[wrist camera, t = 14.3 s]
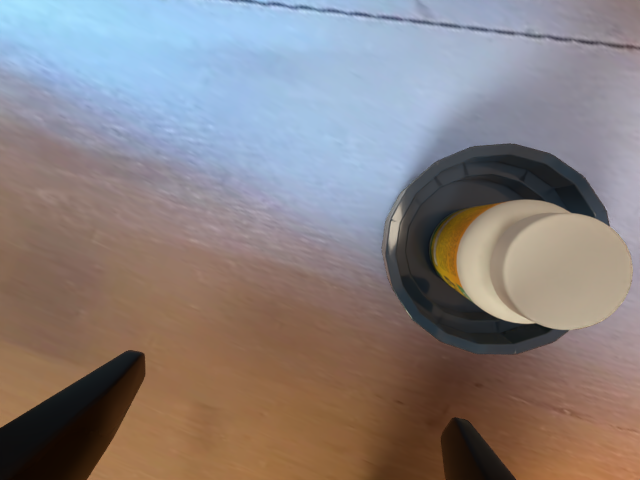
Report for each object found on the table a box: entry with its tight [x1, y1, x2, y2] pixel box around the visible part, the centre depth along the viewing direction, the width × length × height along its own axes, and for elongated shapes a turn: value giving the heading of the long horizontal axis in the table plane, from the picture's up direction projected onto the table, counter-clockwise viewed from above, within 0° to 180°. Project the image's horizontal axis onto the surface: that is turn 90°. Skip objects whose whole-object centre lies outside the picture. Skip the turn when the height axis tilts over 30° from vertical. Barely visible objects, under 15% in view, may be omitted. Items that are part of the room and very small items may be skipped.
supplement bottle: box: [429, 200, 633, 330], centre depth 15 cm, size 5×5×10 cm
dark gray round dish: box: [382, 143, 610, 355], centre depth 18 cm, size 11×11×4 cm
